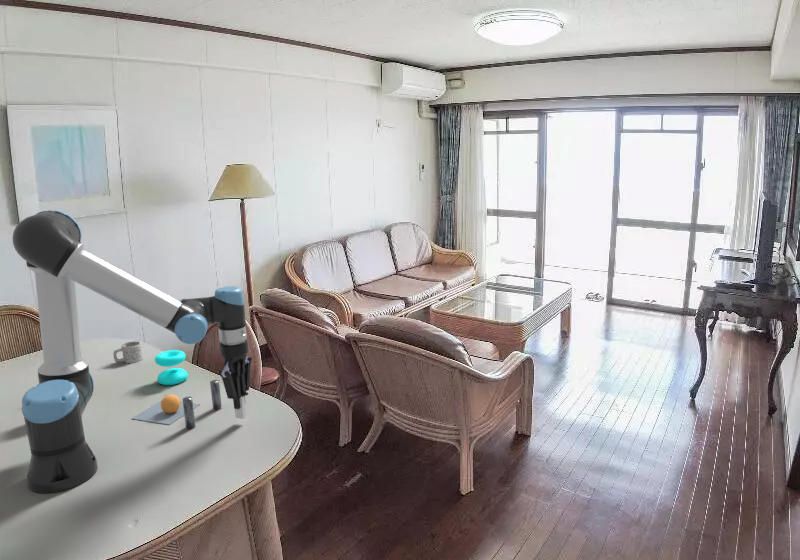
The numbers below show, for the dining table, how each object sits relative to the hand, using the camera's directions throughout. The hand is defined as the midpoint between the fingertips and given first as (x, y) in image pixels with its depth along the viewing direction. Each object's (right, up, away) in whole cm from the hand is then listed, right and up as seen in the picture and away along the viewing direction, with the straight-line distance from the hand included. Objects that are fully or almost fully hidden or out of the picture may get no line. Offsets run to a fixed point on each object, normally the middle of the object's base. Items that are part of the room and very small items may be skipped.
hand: (240, 417), depth 169 cm
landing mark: (-26, 0, +9) cm, 27 cm away
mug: (-58, +9, +53) cm, 79 cm away
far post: (-10, 0, +10) cm, 15 cm away
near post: (-14, -3, -1) cm, 15 cm away
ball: (-24, +2, +8) cm, 25 cm away
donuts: (-33, +5, +33) cm, 47 cm away
